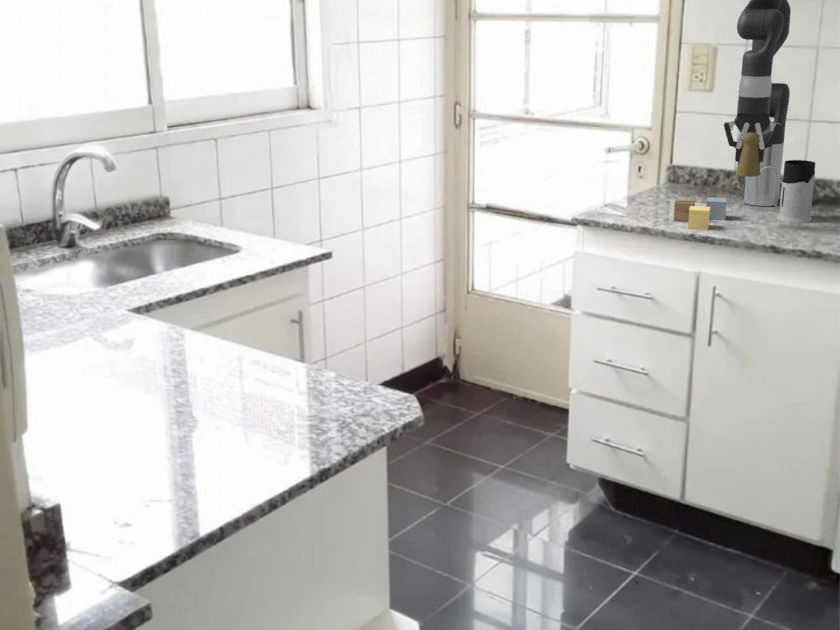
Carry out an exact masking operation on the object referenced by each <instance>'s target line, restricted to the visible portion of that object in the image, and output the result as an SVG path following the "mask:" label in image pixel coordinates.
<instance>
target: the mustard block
mask: <svg viewBox="0 0 840 630" xmlns="http://www.w3.org/2000/svg"><path fill="white" fill-rule="evenodd" d="M709 217H710V207H706V206H702V205H701V206H700V205H698V206H697V205H695V206H690V209H689V220H688V222H687V223H688V224H687V229H688V230H700V231H702V230H703V231H709V228H710V220H709Z"/></svg>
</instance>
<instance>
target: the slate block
mask: <svg viewBox="0 0 840 630" xmlns="http://www.w3.org/2000/svg"><path fill="white" fill-rule="evenodd" d="M727 199H728V198H727V197H726V198H724V197H722V198H721V197H706V206H705V207H710V217H709V221H726V216H727V215H726V213H727V202H728V201H727Z"/></svg>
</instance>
